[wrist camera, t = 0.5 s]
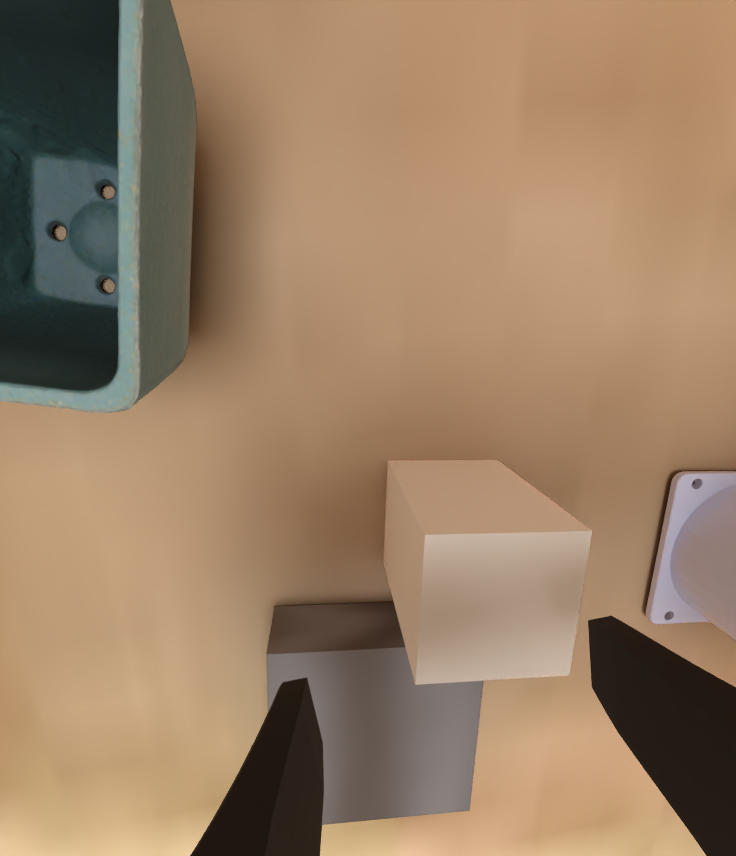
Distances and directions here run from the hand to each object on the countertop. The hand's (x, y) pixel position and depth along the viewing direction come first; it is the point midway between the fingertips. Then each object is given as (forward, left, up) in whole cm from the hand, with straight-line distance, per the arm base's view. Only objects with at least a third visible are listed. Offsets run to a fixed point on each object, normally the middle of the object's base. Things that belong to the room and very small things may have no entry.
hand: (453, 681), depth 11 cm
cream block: (-2, 0, -9) cm, 9 cm away
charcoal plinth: (+1, +9, -9) cm, 12 cm away
